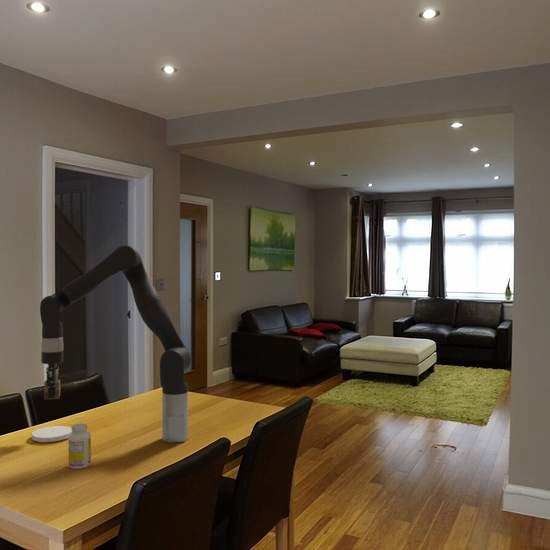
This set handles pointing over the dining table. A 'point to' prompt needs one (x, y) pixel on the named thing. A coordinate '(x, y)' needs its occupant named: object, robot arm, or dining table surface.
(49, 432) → the plastic lid
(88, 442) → the supplement bottle
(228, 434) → the dining table surface
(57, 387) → the walnut block
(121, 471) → the dining table surface
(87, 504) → the dining table surface
